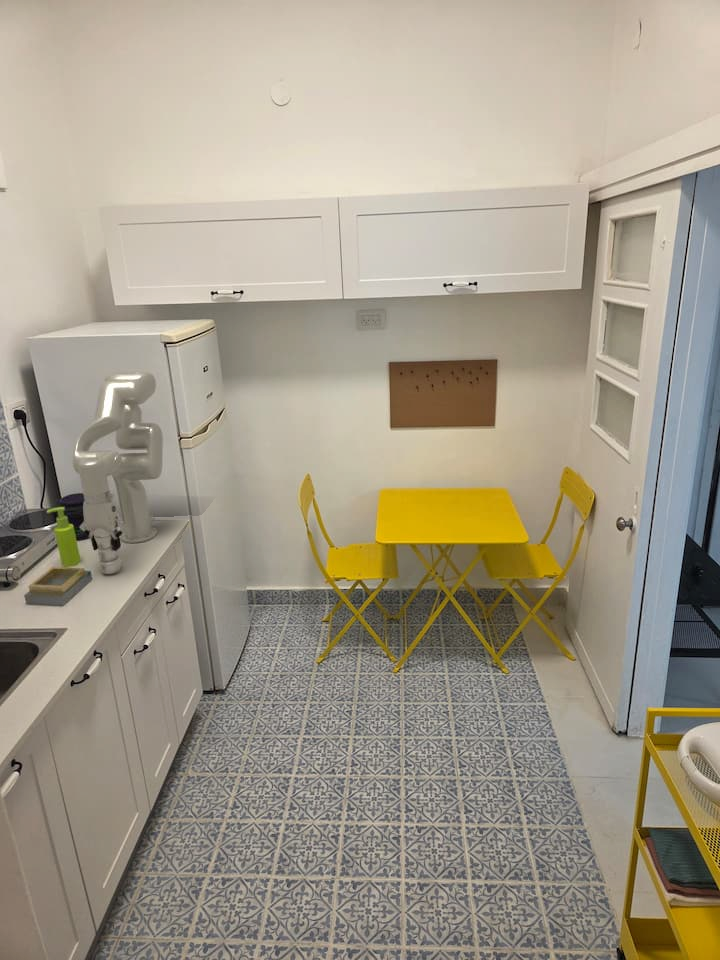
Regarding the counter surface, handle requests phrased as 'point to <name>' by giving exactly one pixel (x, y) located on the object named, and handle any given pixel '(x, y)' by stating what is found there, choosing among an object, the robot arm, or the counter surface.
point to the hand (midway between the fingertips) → (107, 548)
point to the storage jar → (75, 513)
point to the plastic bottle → (106, 552)
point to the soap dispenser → (66, 539)
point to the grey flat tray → (57, 586)
